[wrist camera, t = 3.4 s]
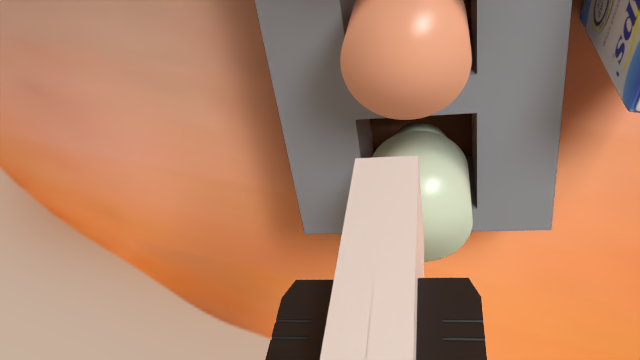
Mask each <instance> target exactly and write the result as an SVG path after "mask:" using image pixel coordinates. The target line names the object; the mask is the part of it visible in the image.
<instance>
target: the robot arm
mask: <svg viewBox="0 0 640 360" xmlns="http://www.w3.org/2000/svg"><path fill="white" fill-rule="evenodd" d="M266 360H487V356H486V346H485V335H484V324H483V314H482V303H481V296H480V295H479V293H478V292H477V290H476V289H475V287H474V286H473V284H472V283H471V281H470V280H469V278H424V233H423V218H422V203H421V188H420V173H419V158H418V156H398V157H376V158H355V163H354V168H353V174H352V180H351V185H350V191H349V197H348V202H347V208H346V214H345V219H344V225H343V231H342V236H341V242H340V248H339V253H338V259H337V265H336V270H335V276H334V280H296V281H295V282H294V283H293V284H292V286H291V287H290V288H289V290H288V291H287V292H286V293H285V295H284V296H283V297H282V299H281V303H280V307H279V310H278V314H277V318H276V323H275V325H274V329H273V333H272V340H271V341H270V344H269V348H268V352H267V356H266Z"/></svg>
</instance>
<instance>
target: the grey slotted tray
mask: <svg viewBox="0 0 640 360" xmlns="http://www.w3.org/2000/svg"><path fill="white" fill-rule="evenodd" d="M254 1H255V5H256V10H257V15H258V19H259V24H260V29H261V33H262V38H263V42H264V47H265V52H266V56H267V61H268V66H269V70H270V75H271V80H272V84H273V89H274V94H275V98H276V103H277V107H278V112H279V117H280V121H281V126H282V131H283V135H284V140H285V145H286V149H287V154H288V158H289V163H290V168H291V172H292V177H293V182H294V186H295V191H296V196H297V200H298V205H299V209H300V214H301V219H302V223H303V228H304V233H305V234H342V231H343V225H344V219H345V214H346V208H347V202H348V197H349V191H350V185H351V180H352V174H353V168H354V163H355V158H372V156H373V154H374V151H373V142H372V134H371V125H370V119H377V118H387V117H384V116H381V115H378V114H376V113H374V112H372V111H370V110H369V109H367V108H366V107H364V106H363V105H362V104H360V103H359V102H358V101H357V100H356V99H355V98H354V97H353V95H352V94H351V92H350V91H349V90H348V88H347V86H346V84H345V82H344V79H343V76H342V72H341V65H340V57H341V49H342V45H343V41H344V38H345V34H346V31H347V27H348V24H349V20H350V16H351V13H352V9H353V6H354V3H355V1H356V0H254ZM571 8H572V0H471V31H469V37H470V45H471V54H472V64H471V70H470V75H469V78H468V80H467V83H466V84H465V86H464V88H463V90H462V91H461V93H460V94H459V95H458V96H457V98H456V99H455V100H454V101H453V102H452V103H450V104H449V105H448V106H447V107H445V108H444V109H442V110H440V111H439V112H437V113H434V114H432V115H449V114H467V113H472V156H465V157H466V159H467V163H468V170H469V181H470V193H471V205H472V217H473V225H472V230H471V231H524V230H551V228H552V217H553V206H554V195H555V184H556V173H557V162H558V151H559V140H560V129H561V118H562V107H563V96H564V85H565V74H566V63H567V52H568V41H569V30H570V19H571ZM429 116H431V115H429Z"/></svg>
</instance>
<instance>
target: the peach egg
mask: <svg viewBox="0 0 640 360" xmlns="http://www.w3.org/2000/svg"><path fill="white" fill-rule="evenodd" d="M471 64H472V54H471V45H470V37H469V29H468V21H467V12H466V7H465V3H464V1H463V0H356V1H355V3H354V6H353V9H352V13H351V16H350V20H349V24H348V27H347V31H346V34H345V38H344V41H343V45H342V49H341V57H340V65H341V72H342V76H343V79H344V82H345V84H346V86H347V88H348V90H349V91H350V92H351V94H352V95H353V97H354V98H355V99H356V100H357V101H358V102H359V103H360V104H362V105H363V106H364V107H366V108H367V109H369V110H370V111H372V112H374V113H376V114H378V115H381V116H384V117H387V118H392V119H399V120H411V119H419V118H423V117H427V116H429V115H432V114H434V113H437V112H439V111H440V110H442V109H444V108H445V107H447V106H448V105H449V104H450V103H452V102H453V101H454V100H455V99H456V98H457V96H458V95H459V94H460V93H461V91H462V90H463V88H464V86H465V84H466V83H467V80H468V78H469V75H470V70H471Z"/></svg>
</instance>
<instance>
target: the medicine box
mask: <svg viewBox="0 0 640 360" xmlns="http://www.w3.org/2000/svg"><path fill="white" fill-rule="evenodd" d="M580 20H581V23H582V24H583V26H584V28H585V30H586V32H587V34H588V36H589V38H590V40H591V42H592V44H593V45H594V47H595V49H596V51H597V53H598V55H599V57H600V59H601V61H602V63H603V65H604V66H605V68H606V70H607V72H608V74H609V76H610V78H611V80H612V82H613V84H614V86H615V88H616V90H617V92H618V94H619V95H620V97H621V99H622V101H623V103H624V105H625V107H626V108H627V110H628V111H629V112H638V113H640V0H585V1H584V4H583V7H582V11H581V14H580Z"/></svg>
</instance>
